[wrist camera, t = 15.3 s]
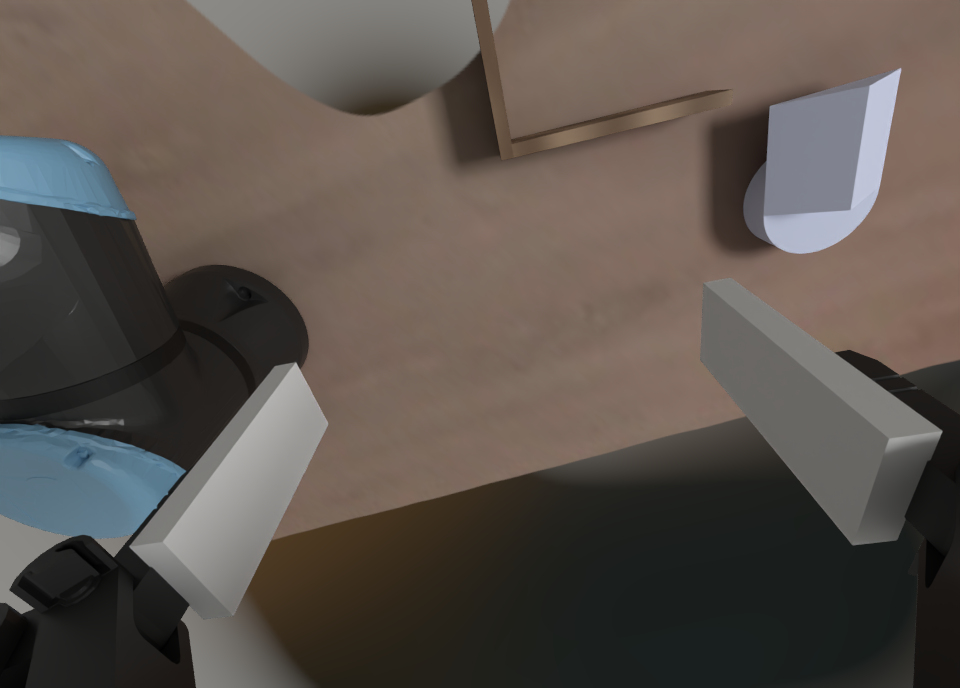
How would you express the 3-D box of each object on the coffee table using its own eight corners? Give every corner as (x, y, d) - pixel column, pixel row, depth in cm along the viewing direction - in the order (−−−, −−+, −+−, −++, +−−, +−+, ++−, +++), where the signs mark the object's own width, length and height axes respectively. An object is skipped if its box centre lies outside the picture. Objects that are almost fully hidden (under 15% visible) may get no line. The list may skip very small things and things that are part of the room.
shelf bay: (500, 155, 37) (501, 160, 33) (454, -90, 29) (450, -116, 26) (707, 104, 35) (731, 104, 31) (717, -175, 27) (751, -216, 23)
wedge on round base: (746, 105, 35) (741, 253, 41) (797, 106, 29) (783, 277, 35) (865, 71, 33) (842, 228, 40) (944, 64, 28) (902, 250, 34)
